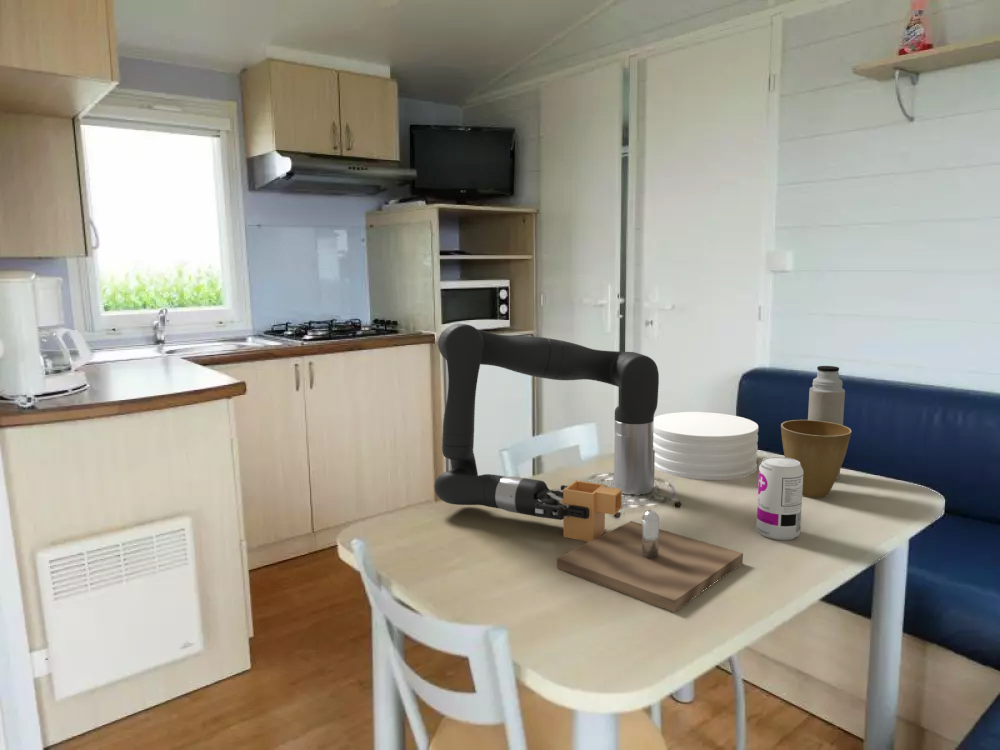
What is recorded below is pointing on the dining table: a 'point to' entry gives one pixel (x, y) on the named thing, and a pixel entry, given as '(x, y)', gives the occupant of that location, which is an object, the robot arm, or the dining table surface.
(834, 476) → the plant pot
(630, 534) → the mount board
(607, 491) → the open-top tan box
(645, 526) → the grey upright cylinder piece
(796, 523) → the supplement can
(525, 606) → the dining table surface
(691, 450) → the plate stack
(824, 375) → the thermos bottle
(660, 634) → the dining table surface
